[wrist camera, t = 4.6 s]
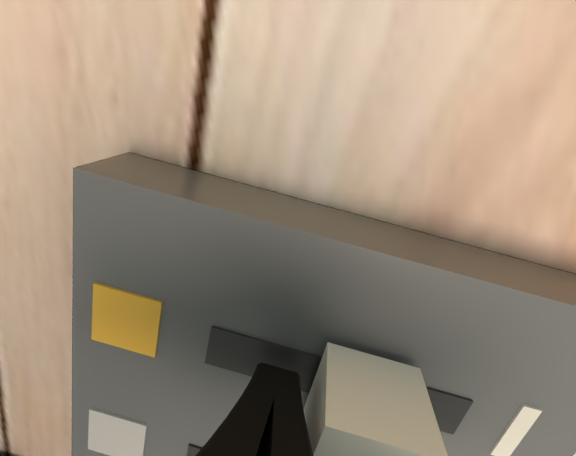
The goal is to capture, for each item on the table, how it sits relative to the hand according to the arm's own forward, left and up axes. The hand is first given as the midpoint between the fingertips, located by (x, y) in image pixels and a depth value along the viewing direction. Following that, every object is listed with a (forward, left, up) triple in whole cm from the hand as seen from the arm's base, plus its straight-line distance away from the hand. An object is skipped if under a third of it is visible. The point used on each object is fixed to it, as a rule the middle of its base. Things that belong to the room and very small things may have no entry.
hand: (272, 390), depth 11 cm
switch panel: (+1, -6, -4) cm, 7 cm away
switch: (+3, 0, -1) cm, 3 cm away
